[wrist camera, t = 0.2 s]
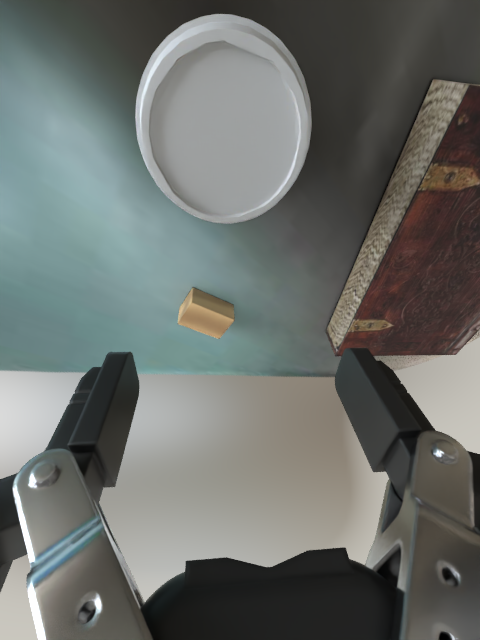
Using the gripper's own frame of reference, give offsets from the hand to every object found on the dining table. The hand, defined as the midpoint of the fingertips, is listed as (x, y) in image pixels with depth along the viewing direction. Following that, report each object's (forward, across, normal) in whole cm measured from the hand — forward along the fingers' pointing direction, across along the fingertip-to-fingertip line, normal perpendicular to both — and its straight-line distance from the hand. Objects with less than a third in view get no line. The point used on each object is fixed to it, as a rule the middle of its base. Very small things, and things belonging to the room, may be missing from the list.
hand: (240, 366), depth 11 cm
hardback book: (+23, -26, +4) cm, 35 cm away
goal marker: (+24, +2, +13) cm, 28 cm away
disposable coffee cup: (+22, 0, -8) cm, 23 cm away
